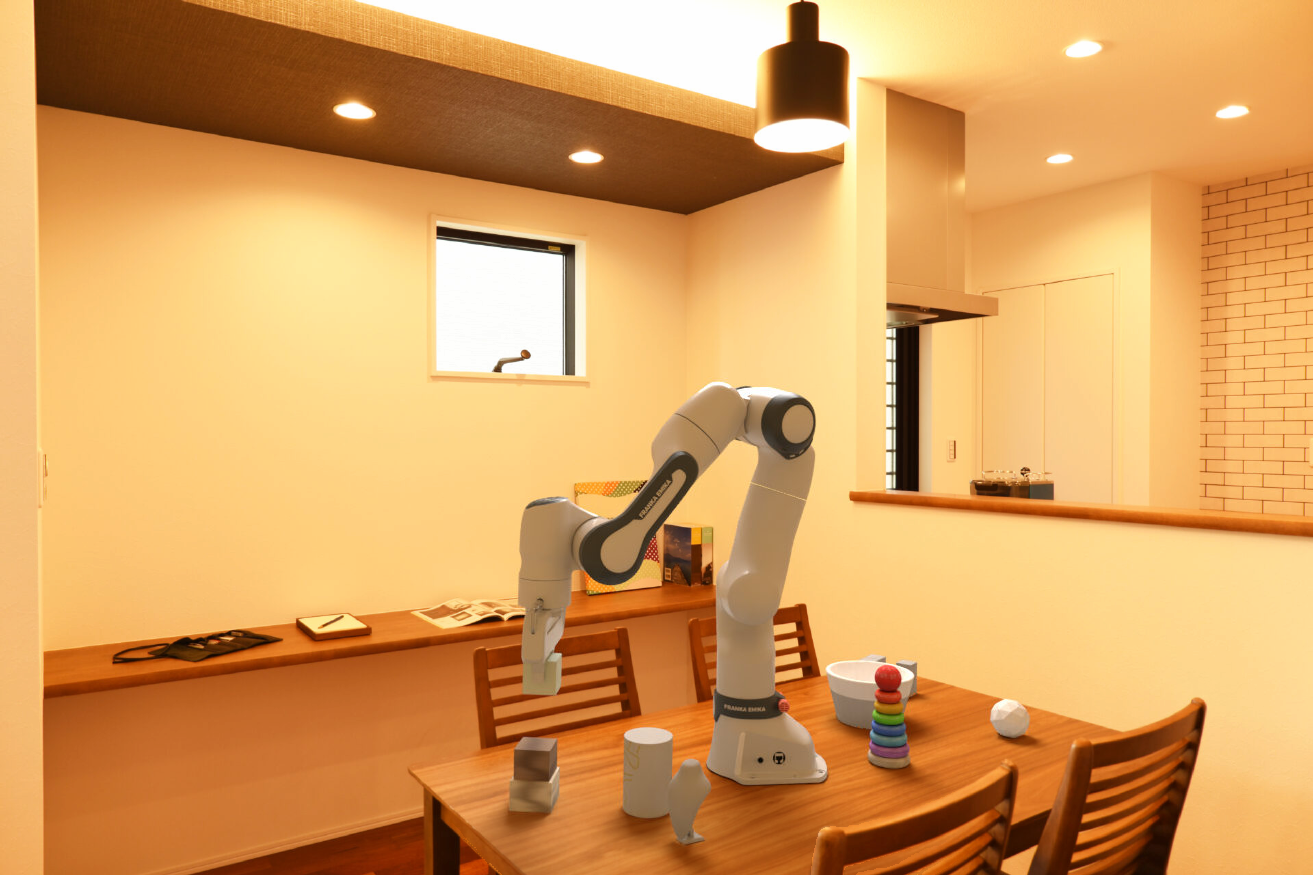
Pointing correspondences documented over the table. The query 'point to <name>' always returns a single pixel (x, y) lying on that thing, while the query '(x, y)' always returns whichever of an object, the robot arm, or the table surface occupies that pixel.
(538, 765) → the walnut mid
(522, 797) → the maple base
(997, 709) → the geometric ball
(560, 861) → the table surface
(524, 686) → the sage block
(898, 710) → the stacking toy
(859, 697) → the bowl
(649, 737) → the white cylinder
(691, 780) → the figurine
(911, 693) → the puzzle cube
